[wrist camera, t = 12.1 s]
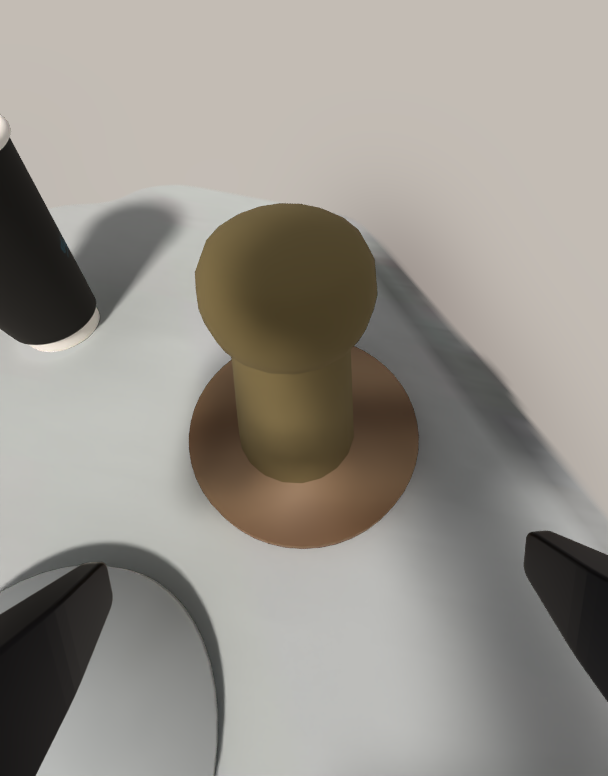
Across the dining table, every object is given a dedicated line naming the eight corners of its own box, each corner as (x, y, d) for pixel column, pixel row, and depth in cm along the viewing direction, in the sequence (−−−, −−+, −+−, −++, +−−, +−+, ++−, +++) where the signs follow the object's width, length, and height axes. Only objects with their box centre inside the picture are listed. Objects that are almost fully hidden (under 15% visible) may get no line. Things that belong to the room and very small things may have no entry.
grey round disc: (211, 542, 16) (206, 538, 15) (232, 983, 10) (227, 1019, 9) (-76, 599, 14) (-99, 599, 14) (-263, 1167, 8) (-326, 1232, 7)
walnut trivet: (454, 509, 16) (462, 504, 16) (206, 581, 15) (199, 580, 14) (367, 330, 23) (370, 319, 22) (186, 368, 21) (181, 358, 20)
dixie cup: (141, 291, 25) (42, 107, 16) (89, 378, 21) (-88, 198, 12) (43, 281, 26) (-107, 100, 16) (-27, 364, 22) (-280, 184, 12)
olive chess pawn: (216, 422, 18) (117, 229, 9) (301, 361, 20) (295, 153, 11) (290, 510, 15) (263, 373, 6) (378, 430, 18) (456, 238, 8)
